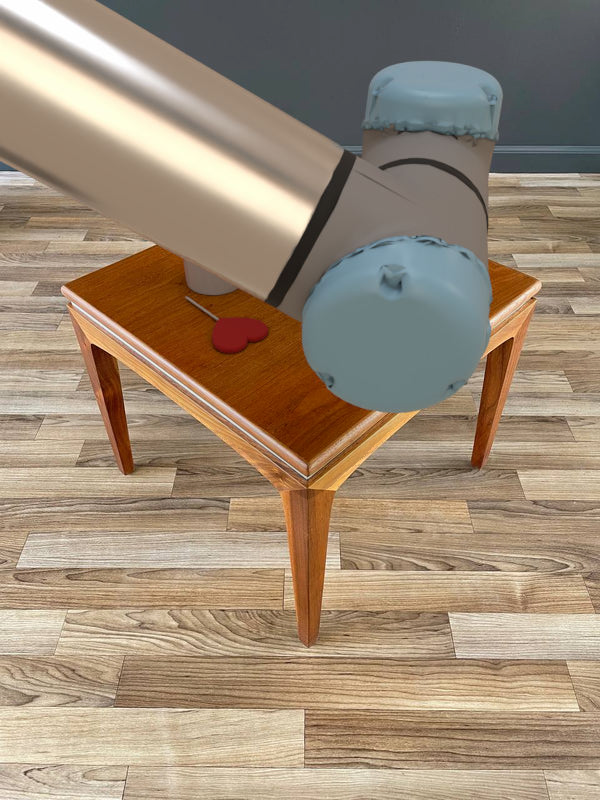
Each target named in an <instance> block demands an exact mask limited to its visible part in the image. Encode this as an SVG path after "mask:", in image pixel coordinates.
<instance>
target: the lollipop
mask: <svg viewBox="0 0 600 800" xmlns="http://www.w3.org/2000/svg"><path fill="white" fill-rule="evenodd" d="M185 300H187V301H189V302H190V303H191V304H193V305H194V306H195V307H197V308H198V309H200V310H201V311H203V312H204V313H206V314H207V315H208V316H210V317H211V318H212V319H214V320H215V321H216V323H215V324H214V327H213V329H212V333H211V342H212V345H213V347H214V348H215V349H216V350H217V351H218V352H220V353H223V354H227V355H228V354H230V355H231V354H237V353H240V352H242V351H244V350H245V349H246V347H247V346H248V343H257V342H260V341H263V340H264V339H266V337H267V336H268V334H269V327H268V325H267V324H266V323H265V322H264V321H262V320H260V319H256V318H253V317H244V316H243V317H240V316H239V317H237V316H236V317H235V316H234V317H220V318H219V317H217V316H216V315H214V314H213V313H212V312H210V311H209V310H207V309H206V308H205V307H203V306H202V305H200V304H199V303H197V302H195V301H194V300H193V299H192V298H190V297H189V296H185Z"/></svg>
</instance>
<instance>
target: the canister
mask: <svg viewBox="0 0 600 800" xmlns="http://www.w3.org/2000/svg"><path fill="white" fill-rule="evenodd" d="M182 260H183V261H182V262H183V270H184V276H185V282H186V285H187V287H188V288H189V289H190V290H191V291H193V292H195V293H197V294H201V295H206V296H222V295H226V294H229V293H232V292H234V291H237V290H238V289H239V288H237V287H235V286H233V285H232V284H230V283H228V282H226V281H224V280H222V279H220V278H218V277H217V276H215V275H213V274H211V273H209V272H207V271H205V270H203V269H202V268H200V267H198V266H196V265H194V264H192V263H190V262H188V261H187V260H185V259H183V258H182Z"/></svg>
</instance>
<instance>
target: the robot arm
mask: <svg viewBox="0 0 600 800" xmlns="http://www.w3.org/2000/svg"><path fill="white" fill-rule="evenodd" d="M503 99H504V93H503V89H502V86H501V84H500V82H499V81H498V80H497V78H496V77H494V76H493V75H492V74H490V73H489V72H487V71H486V70H483V69H480V68H477V67H475V66H471V65H467V64H463V63H458V62H450V61H441V60H440V61H439V60H416V61H415V60H413V61H405V62H399V63H395V64H392V65H389V66H387V67H384V68H383V69H381V70H380V71H378V72H377V73H376V74H375V75H374V76H373V77H372V79H371V81H370V83H369V84H368V90H367V99H366V105H365V113H364V114H365V115H364V119H363V120H362V122H361V125H360V129H361V131H363V132H362V148H361V154H360V155H357V154H354V153H353V152H351V151H349V150H348V149H346V148H345V147H344V146H342V145H340V144H339V143H337V142H335V141H333V140H332V139H330V138H329V137H327V136H326V135H324V134H322V133H320V132H318V131H317V130H315V129H313V128H312V127H310V126H308V125H307V124H305V123H303V122H302V121H300V120H298V119H297V118H294V117H293V116H292V115H290V114H288V113H286V112H285V111H283V110H282V109H280V108H278V107H276V106H274V105H273V104H271V103H270V102H268V101H266V100H265V99H263V98H262V97H259V96H258V95H256V94H254V93H253V92H251V91H249V90H247V89H246V88H244V87H242V86H241V85H239V84H237V83H236V82H234V81H232V80H230V79H229V78H227V77H226V76H224V75H223V74H221V73H219V72H217V71H215V70H214V69H212V68H210V67H209V66H207V65H206V64H204V63H202V62H201V61H198V60H197V59H195V58H194V57H192V56H190V55H189V54H186V53H185V52H184V51H181V50H180V49H178V48H177V47H175V46H174V45H172V44H170V43H168V42H167V41H165V40H163V39H162V38H160V37H158V36H156V35H155V34H153V33H151V32H150V31H148V30H147V29H144V28H143V27H142V26H140V25H138V24H136V23H135V22H132V21H131V20H129V19H127V18H126V17H124V16H123V15H122V14H121V15H120V14H119V13H118V12H116V11H115V10H112V9H111V8H109V7H108V6H106V5H104V4H102V3H101V2H100V1H97V0H0V162H1V163H3V164H5V165H7V166H9V167H11V168H12V169H14V170H17V171H18V172H20V173H22V174H23V175H26V177H29V178H31V179H33V180H35V181H37V182H39V183H40V184H42V185H44V186H46V187H48V188H49V189H52V190H54V191H55V192H57V193H59V194H61V195H63V196H65V197H66V198H69V199H70V200H73V202H76V203H78V204H80V205H81V206H84V207H85V208H87V209H89V210H91V211H93V212H95V213H97V214H99V215H100V216H103V217H104V218H106V219H108V220H110V221H112V222H113V223H115V224H117V225H119V226H121V227H123V228H125V229H126V230H129V231H130V232H132V233H134V234H136V235H138V236H140V237H142V238H143V239H145V240H147V241H149V242H151V243H153V244H155V245H157V246H159V247H160V248H162V249H164V250H166V251H168V252H170V253H171V254H174V255H175V256H177V257H179V258H181V259H182V260H183V259H185V260H187V261H188V262H190V263H192V264H194V265H196V266H198V267H200V268H202V269H203V270H205V271H207V272H209V273H211V274H213V275H215V276H217V277H218V278H220V279H222V280H224V281H226V282H228V283H230V284H232V285H233V286H235V287H237V288H238V289H239V290H241V291H243V292H245V293H247V294H249V295H250V296H252V297H254V298H256V299H258V300H259V301H261V302H263V303H265V304H267V305H269V306H271V307H273V308H274V309H276V310H278V311H280V312H281V313H282V314H285V315H287V316H288V317H290V318H291V319H294V320H296V321H297V322H300V323H301V326H300V328H301V345H302V350H303V353H304V357H305V360H306V362H307V364H308V366H309V367H310V369H311V370H312V371H313V372H314V373H315V374H316V376H317V377H318V378H319V379H320V380H321V382H323V384H325V386H326V390H329V391H330V393H331V394H333V395H334V396H335V397H338V398H339V399H340V400H342V401H344V402H345V403H348V404H350V405H353V406H354V407H358V408H360V409H363V410H367V411H372V412H373V411H374V412H379V413H385V414H386V413H387V414H402V413H411V412H418V411H421V410H426V409H428V408H431V407H434V406H436V405H438V404H440V403H442V402H445V400H447V399H449V398H451V397H453V396H454V395H455V394H457V392H458V391H460V390H461V389H462V388H463V387H464V386H466V385H468V383H469V380H470V379H471V378H472V376H473V374H474V373H475V372H476V370H477V368H478V367H479V365H480V362H481V360H482V358H483V357H484V354H485V352H486V351H487V349H488V347H489V344H490V342H491V341H490V340H491V335H492V325H491V321H490V317H489V315H490V313H491V306H492V302H493V300H494V298H493V287H492V281H491V277H490V272H489V271H490V270H489V245H488V235H489V234H488V233H489V206H490V205H489V203H490V202H489V177H490V172H491V171H490V170H491V165H492V159H493V156H494V151H495V146H496V143H497V142H499V140H500V139H499V138H500V132H499V122H500V118H501V111H502V106H503V105H502V104H503Z"/></svg>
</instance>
